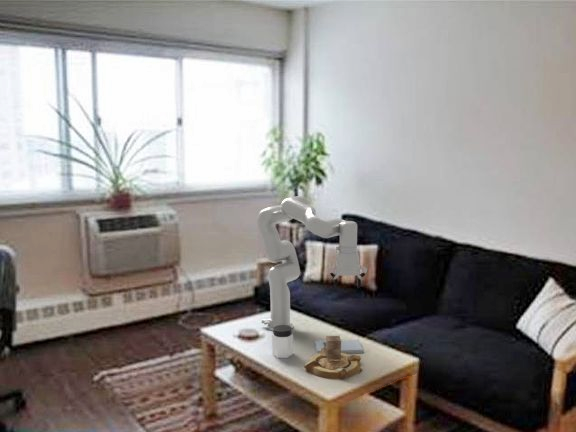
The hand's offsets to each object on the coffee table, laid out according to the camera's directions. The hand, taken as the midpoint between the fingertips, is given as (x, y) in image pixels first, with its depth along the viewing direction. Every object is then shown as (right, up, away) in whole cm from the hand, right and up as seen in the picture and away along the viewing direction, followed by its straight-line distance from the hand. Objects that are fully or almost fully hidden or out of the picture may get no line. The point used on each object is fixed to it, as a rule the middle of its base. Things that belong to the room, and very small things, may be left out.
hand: (347, 287), depth 249 cm
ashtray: (-8, -32, -17) cm, 37 cm away
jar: (-28, -29, -4) cm, 41 cm away
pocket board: (-4, -28, +2) cm, 28 cm away
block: (-7, -27, -17) cm, 32 cm away
